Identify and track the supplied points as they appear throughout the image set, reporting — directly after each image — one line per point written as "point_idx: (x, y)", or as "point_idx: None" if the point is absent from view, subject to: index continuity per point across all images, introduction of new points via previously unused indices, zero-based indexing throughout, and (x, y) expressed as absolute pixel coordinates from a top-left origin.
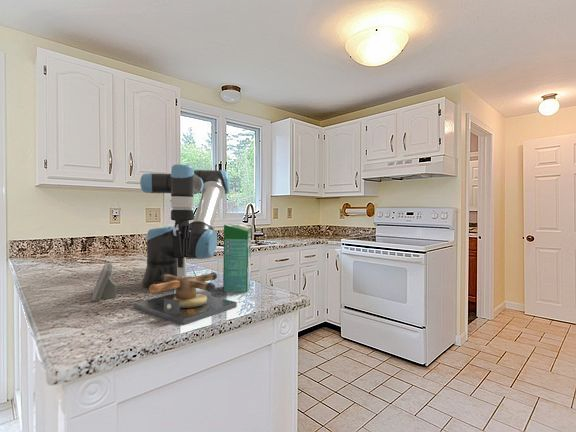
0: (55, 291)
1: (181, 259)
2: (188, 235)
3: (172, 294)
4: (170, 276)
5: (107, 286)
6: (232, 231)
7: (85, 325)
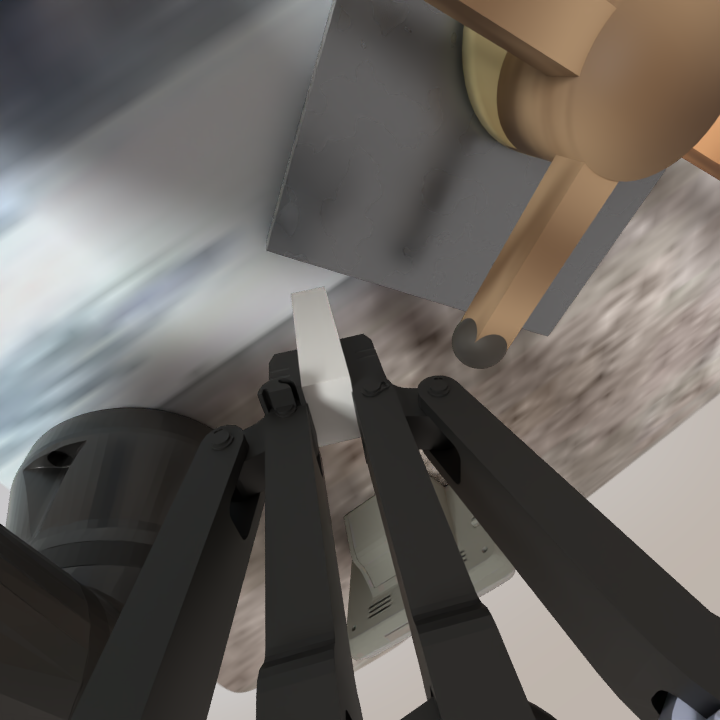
0: None
1: (386, 378)
2: (278, 718)
3: (382, 276)
4: (552, 276)
5: (446, 515)
6: None
7: (706, 328)
